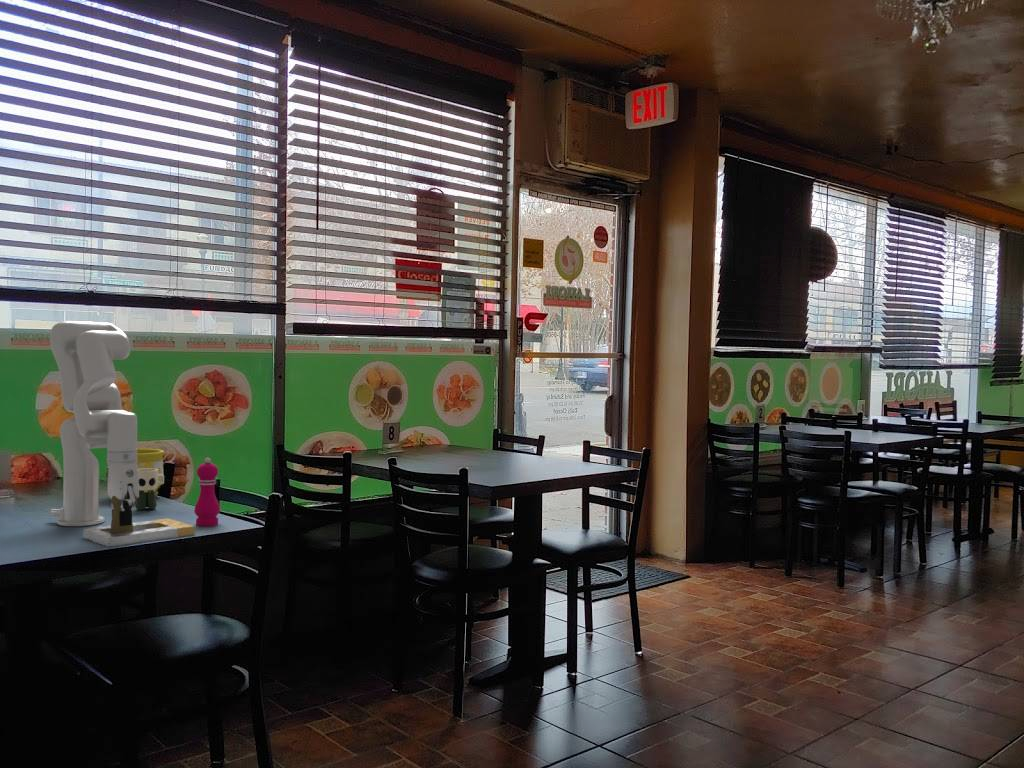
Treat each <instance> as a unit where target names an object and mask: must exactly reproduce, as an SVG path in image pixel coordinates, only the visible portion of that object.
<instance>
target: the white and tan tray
mask: <svg viewBox="0 0 1024 768" xmlns="http://www.w3.org/2000/svg"><path fill="white" fill-rule="evenodd" d="M132 524H133V531H134V532H128V533H120V534H113V535H112V534H110V529H111V525H106V526H105V525H103V526H96V527H89V528H88V527H87V528H83V534H82V535H83V537H84V538H83V539H86V538H87V539H86V540H88V539H89V540H88V541H91V540H92V542H94V543H96V542H97V543H96V544H99V543H100V544H99V545H101V544H102V546H104V545H105V546H104V547H107V546H108V547H107V548H110V547H109V546H111V547H116V546H117V545H118V546H124V545H125V546H126V545H130V544H131V545H132V544H137V543H138V544H139V543H145V542H152V541H158V540H168V539H175V538H181V537H187V536H195V533H196V532H195V531H196V530H195V528H196V527H195V525H192V524H189V523H185V522H181V521H179V520H175V519H172V518H160V519H159V518H158V519H153V520H145V521H144V520H143V521H136V522H132Z"/></svg>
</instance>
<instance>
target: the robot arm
mask: <svg viewBox="0 0 1024 768" xmlns="http://www.w3.org/2000/svg"><path fill="white" fill-rule="evenodd" d="M49 333H50V334H49V343H50V348H51V353H52V355H53V357H54V360H55V362H56V364H57V369H58V372H59V373H58V374H59V382H60V392H61V400H62V405H63V408H64V410H65V411H67V412H69V413H73V417H70V418H67V419H65V420H64V421H63V422H62V423H61V425H60V428H59V436H60V441H61V448H62V456H63V457H62V459H63V460H62V461H63V463H62V464H63V466H62V467H63V470H62V471H63V483H62V484H63V487H62V488H63V492H62V493H63V503H62V504H63V507H61V508H51V509H50V512H49V513H50V516H51V517H59V518H58V519H57V525H58V526H63V527H85V526H86V527H87V526H93V525H94V526H95V525H99V524H102V523H104V522H105V517H104V516H102V515H100V464H99V459H97V457H96V456H95V454H93V452H92V451H91V449H103V448H106V460H107V461H106V464H108V470H107V485H106V486H107V488H106V489H107V496H109V498H110V500H111V499H112V497H113V496H115V497H116V498H117V499H119V500H120V501H121V503H120V504H121V511H120V513H119V525H120V526H126V525H132V523H133V510H134V509H133V508H134V504H136V500H135V499H137V498H138V497H139V479H138V470H137V464H136V463H137V449H138V416H137V413H134V412H130V411H127V410H125V409H123V406H122V405H123V404H122V397H121V392H120V390H119V388H118V386H117V385H116V384H115V382H116V381H117V373H116V368H115V365H114V360H115V361H117V360H118V361H123V360H125V359H127V358H128V357H130V353H131V342H130V339H129V337H128V335H127V334H126V333H125V332H124V331H123V330H122V329H120V328H119V327H117V326H116V325H115V324H113V323H110V322H103V321H102V322H100V321H82V320H79V321H78V320H77V321H76V320H73V321H72V320H70V321H69V320H68V321H66V320H65V321H61V322H57V323H55V324H54V325H53V326H52V327H51V329H50V332H49ZM125 497H128V499H124V498H125ZM126 501H128V502H126ZM124 502H126V503H125V505H124ZM110 507H111V516H112V515H113V508H114V506H113V505H112V504H111V505H110Z"/></svg>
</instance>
